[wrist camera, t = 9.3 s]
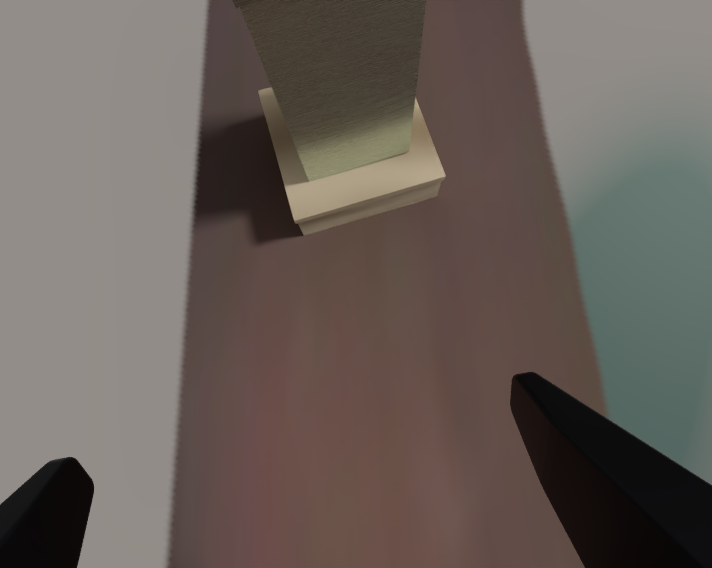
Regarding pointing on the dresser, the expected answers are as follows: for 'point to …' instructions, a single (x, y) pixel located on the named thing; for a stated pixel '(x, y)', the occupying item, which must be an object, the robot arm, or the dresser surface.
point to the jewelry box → (353, 177)
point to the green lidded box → (341, 75)
